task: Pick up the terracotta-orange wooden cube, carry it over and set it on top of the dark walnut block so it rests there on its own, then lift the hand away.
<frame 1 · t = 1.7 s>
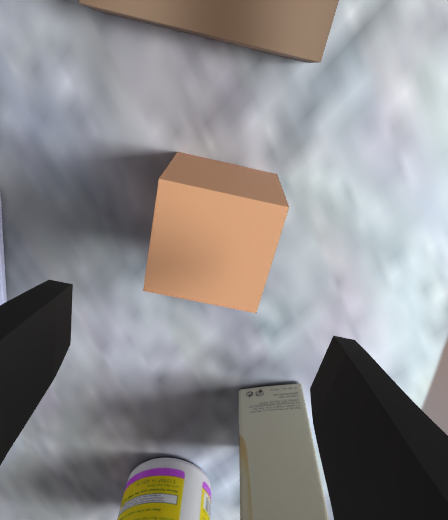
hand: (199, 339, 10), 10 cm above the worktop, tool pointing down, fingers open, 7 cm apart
orange cube: (217, 209, 20), on the worktop
supplement bottle: (171, 478, 30), on the worktop
skincare box: (274, 414, 27), on the worktop
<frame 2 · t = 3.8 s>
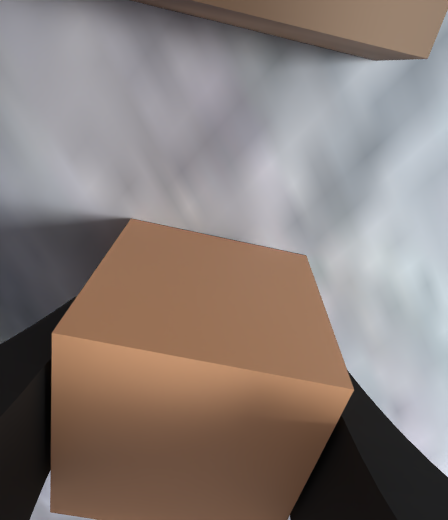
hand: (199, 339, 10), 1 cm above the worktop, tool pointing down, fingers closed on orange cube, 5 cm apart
orange cube: (203, 309, 12), on the worktop, touching gripper
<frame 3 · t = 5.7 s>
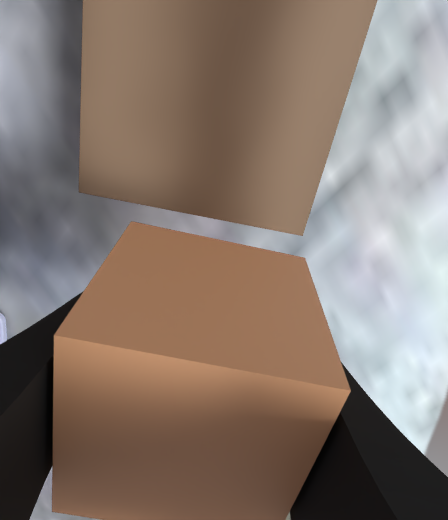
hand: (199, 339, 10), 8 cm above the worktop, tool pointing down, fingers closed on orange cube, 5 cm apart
orange cube: (203, 311, 12), point 7 cm above the worktop, touching gripper
walnut block: (217, 88, 16), on the worktop
when the fingers open (5 cm above the worktop, at t = 7.8 s): orange cube drops 1 cm, point 3 cm above the worktop.
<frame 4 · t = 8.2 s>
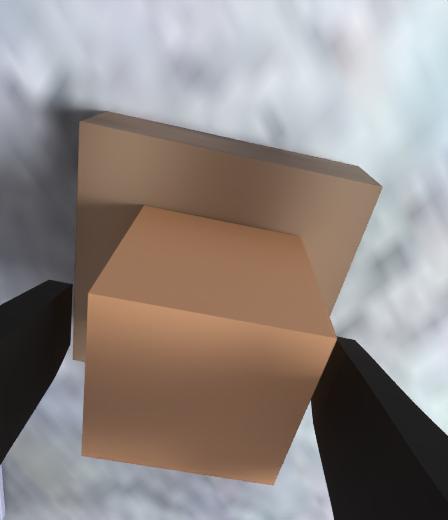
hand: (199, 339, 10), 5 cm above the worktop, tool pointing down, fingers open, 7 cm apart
orange cube: (208, 287, 13), point 3 cm above the worktop
walnut block: (212, 247, 16), on the worktop
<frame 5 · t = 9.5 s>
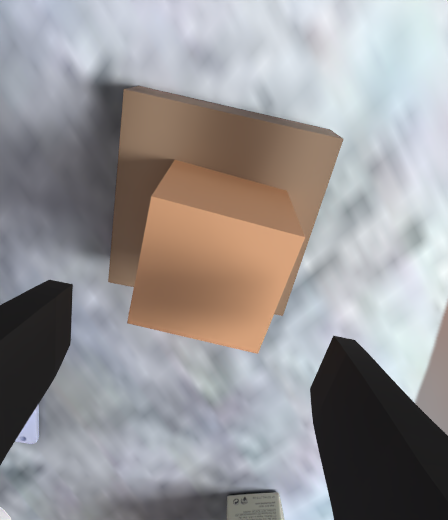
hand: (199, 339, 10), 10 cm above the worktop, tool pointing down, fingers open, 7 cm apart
orange cube: (216, 227, 17), point 2 cm above the worktop, touching walnut block
skincare box: (257, 511, 32), on the worktop
walnut block: (217, 197, 20), on the worktop, touching orange cube
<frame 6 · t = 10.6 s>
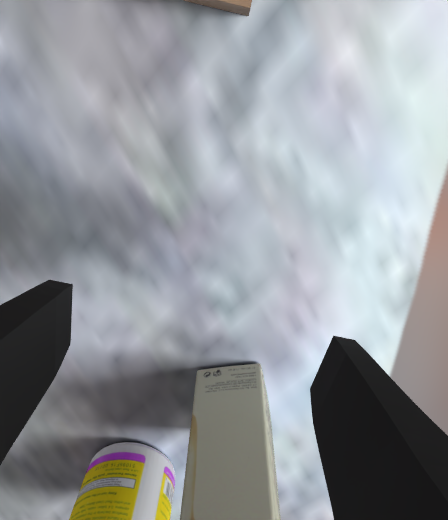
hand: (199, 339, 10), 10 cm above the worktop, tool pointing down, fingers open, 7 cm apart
supplement bottle: (135, 464, 30), on the worktop
skincare box: (235, 397, 26), on the worktop
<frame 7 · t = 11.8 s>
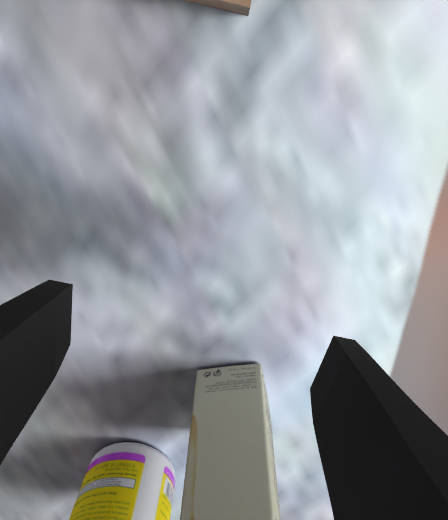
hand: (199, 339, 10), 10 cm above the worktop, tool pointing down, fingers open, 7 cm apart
supplement bottle: (135, 464, 30), on the worktop
skincare box: (235, 397, 26), on the worktop
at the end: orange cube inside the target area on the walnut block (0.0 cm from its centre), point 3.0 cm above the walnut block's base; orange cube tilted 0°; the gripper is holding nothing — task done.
